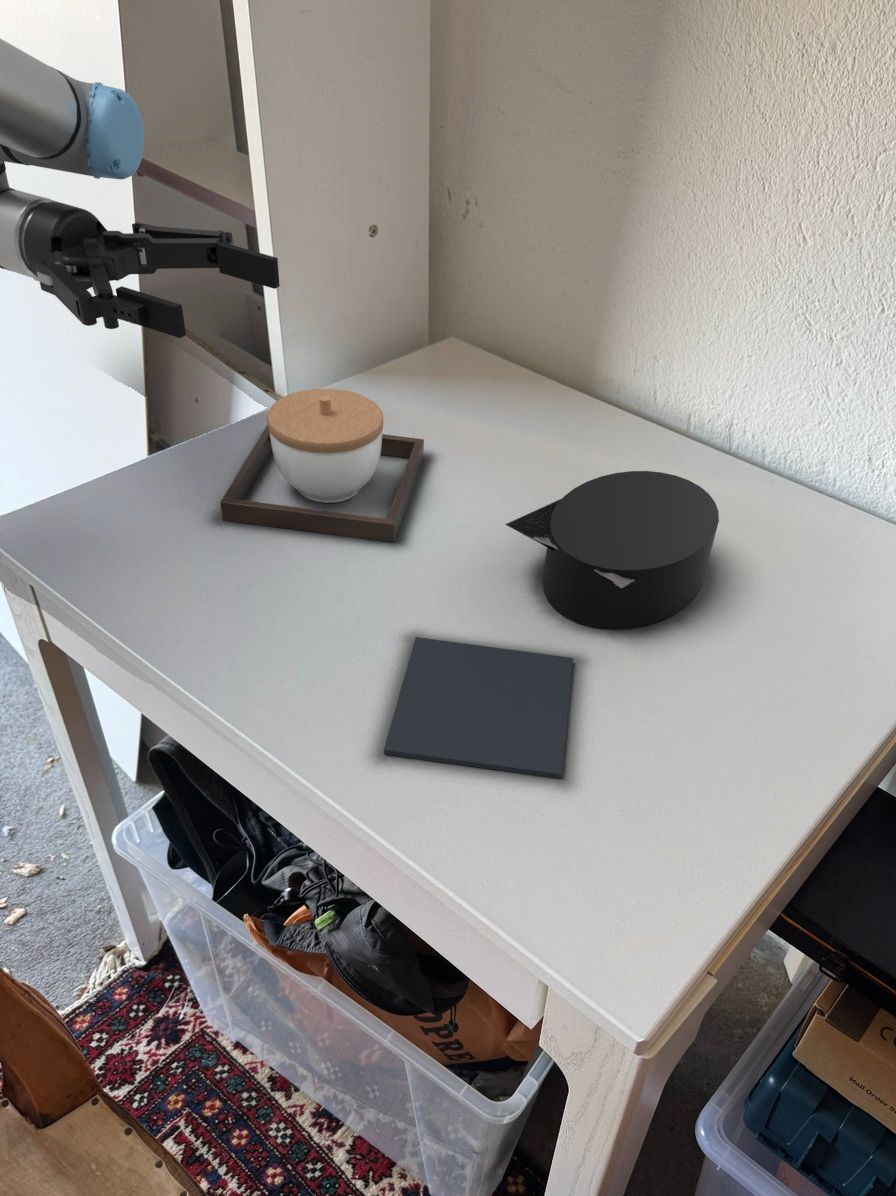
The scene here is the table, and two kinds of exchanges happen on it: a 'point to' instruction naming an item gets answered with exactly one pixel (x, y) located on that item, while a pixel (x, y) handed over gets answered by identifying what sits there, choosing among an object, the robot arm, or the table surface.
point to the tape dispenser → (624, 548)
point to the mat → (483, 708)
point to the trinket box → (326, 442)
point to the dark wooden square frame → (318, 519)
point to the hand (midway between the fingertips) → (231, 296)
